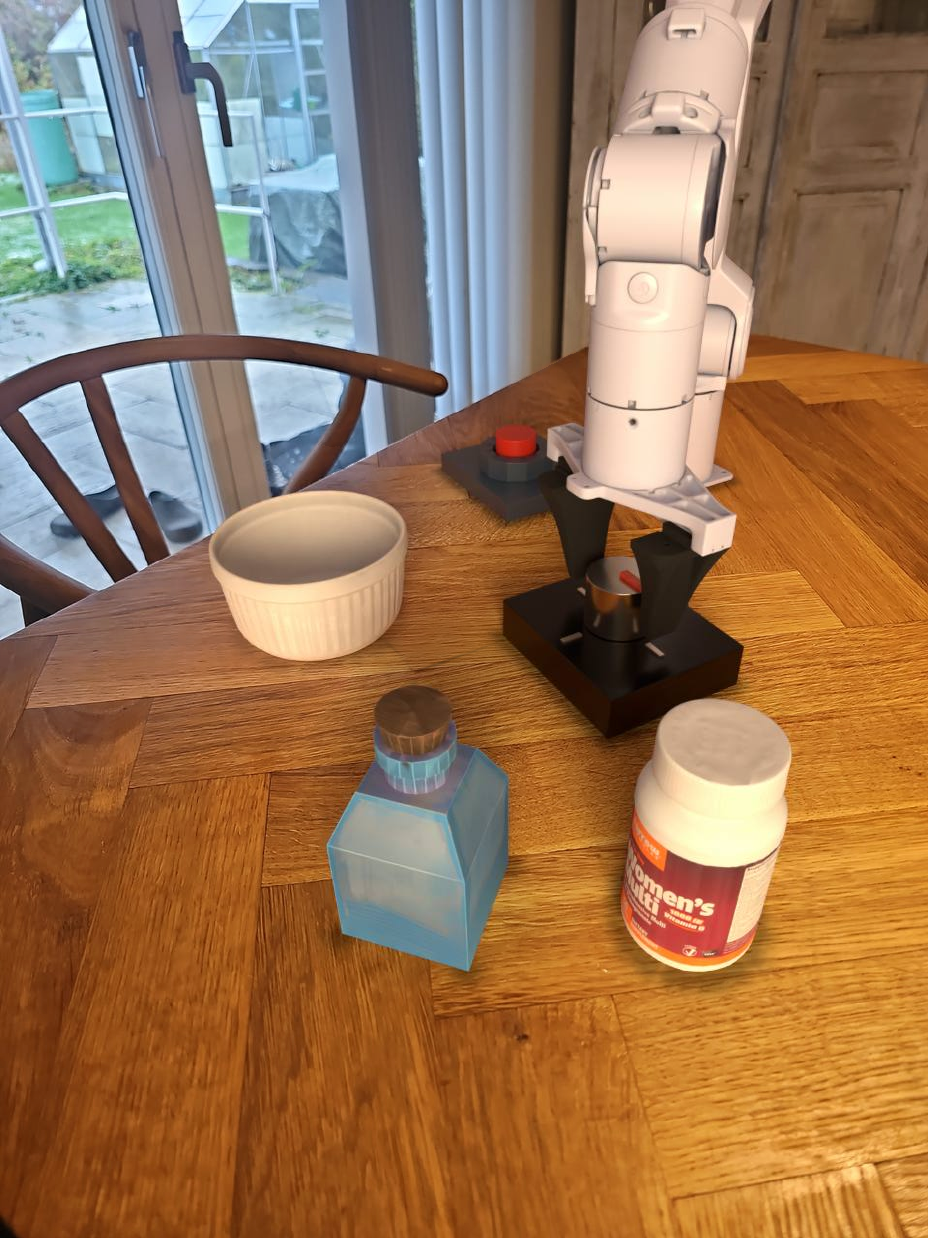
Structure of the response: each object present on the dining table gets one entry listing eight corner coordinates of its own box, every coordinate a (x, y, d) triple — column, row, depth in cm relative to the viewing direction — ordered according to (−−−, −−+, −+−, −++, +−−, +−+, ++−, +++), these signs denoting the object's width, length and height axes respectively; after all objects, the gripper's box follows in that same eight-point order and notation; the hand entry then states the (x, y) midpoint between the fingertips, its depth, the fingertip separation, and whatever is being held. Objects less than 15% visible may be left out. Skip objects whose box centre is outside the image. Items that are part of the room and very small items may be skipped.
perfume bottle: (508, 863, 42) (509, 677, 35) (468, 971, 38) (460, 781, 31) (394, 834, 44) (373, 651, 37) (342, 933, 39) (308, 745, 32)
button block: (441, 470, 80) (439, 435, 78) (522, 449, 83) (523, 415, 81) (507, 522, 71) (507, 484, 69) (594, 496, 75) (597, 460, 73)
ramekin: (239, 574, 66) (222, 493, 62) (409, 562, 66) (403, 481, 62) (213, 683, 55) (190, 593, 51) (417, 667, 55) (410, 577, 51)
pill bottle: (594, 925, 39) (612, 748, 33) (660, 843, 43) (688, 670, 37) (717, 1005, 36) (763, 825, 30) (777, 909, 40) (830, 730, 33)
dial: (569, 614, 55) (572, 563, 52) (624, 594, 56) (629, 545, 54) (611, 649, 52) (615, 597, 49) (667, 628, 53) (674, 576, 51)
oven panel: (502, 635, 58) (502, 597, 56) (620, 593, 62) (623, 556, 60) (607, 740, 49) (611, 698, 48) (737, 684, 53) (745, 644, 51)
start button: (488, 448, 76) (487, 430, 75) (522, 439, 77) (522, 421, 76) (508, 463, 73) (509, 444, 72) (543, 453, 75) (544, 435, 74)
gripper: (505, 366, 49) (505, 567, 57) (670, 455, 38) (642, 686, 46) (605, 345, 52) (591, 539, 59) (784, 423, 41) (739, 646, 49)
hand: (619, 602), depth 53 cm, fingers open, 7 cm apart
